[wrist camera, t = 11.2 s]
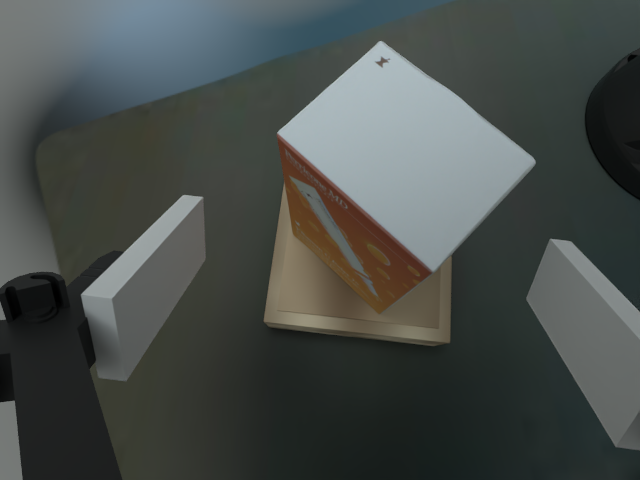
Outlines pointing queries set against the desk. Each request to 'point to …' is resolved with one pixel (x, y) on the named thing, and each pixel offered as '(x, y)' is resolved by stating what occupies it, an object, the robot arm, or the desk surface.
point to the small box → (392, 175)
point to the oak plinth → (349, 298)
